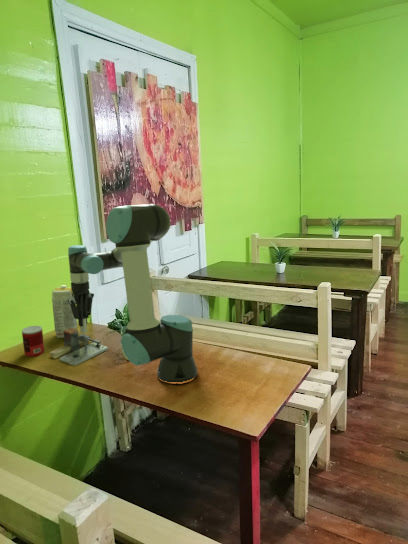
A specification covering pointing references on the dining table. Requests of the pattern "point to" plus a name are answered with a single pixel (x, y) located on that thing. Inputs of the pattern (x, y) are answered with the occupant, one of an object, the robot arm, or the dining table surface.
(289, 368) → the dining table surface
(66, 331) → the slide leg
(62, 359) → the bolt plate
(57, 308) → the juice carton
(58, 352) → the rail
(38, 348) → the canned food
